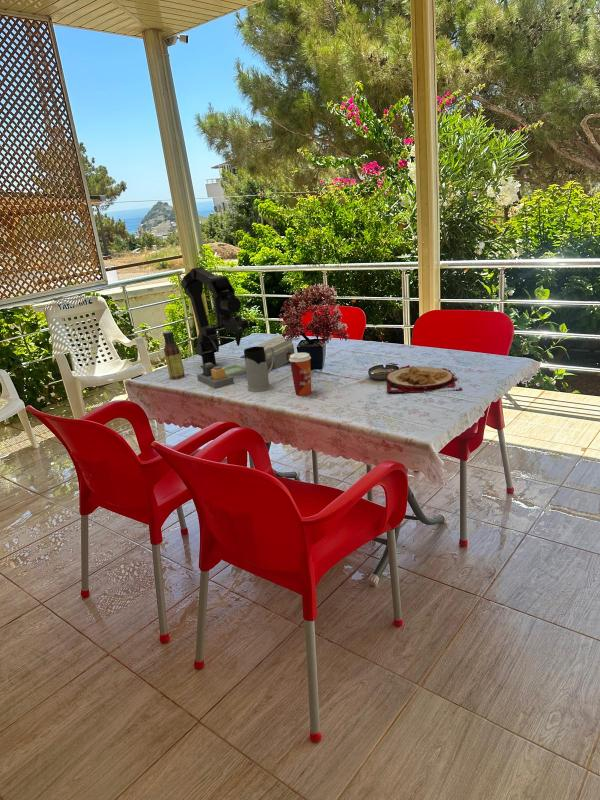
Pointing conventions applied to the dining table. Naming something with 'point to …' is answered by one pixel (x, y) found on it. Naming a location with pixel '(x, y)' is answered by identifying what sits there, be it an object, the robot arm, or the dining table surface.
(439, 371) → the plate with food
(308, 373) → the paper cup
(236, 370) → the tray
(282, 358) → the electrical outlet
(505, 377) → the dining table surface
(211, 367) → the twin plug
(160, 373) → the dining table surface
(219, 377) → the plug
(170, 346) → the sauce bottle
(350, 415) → the dining table surface
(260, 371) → the grey pitcher
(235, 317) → the robot arm
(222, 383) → the power strip
